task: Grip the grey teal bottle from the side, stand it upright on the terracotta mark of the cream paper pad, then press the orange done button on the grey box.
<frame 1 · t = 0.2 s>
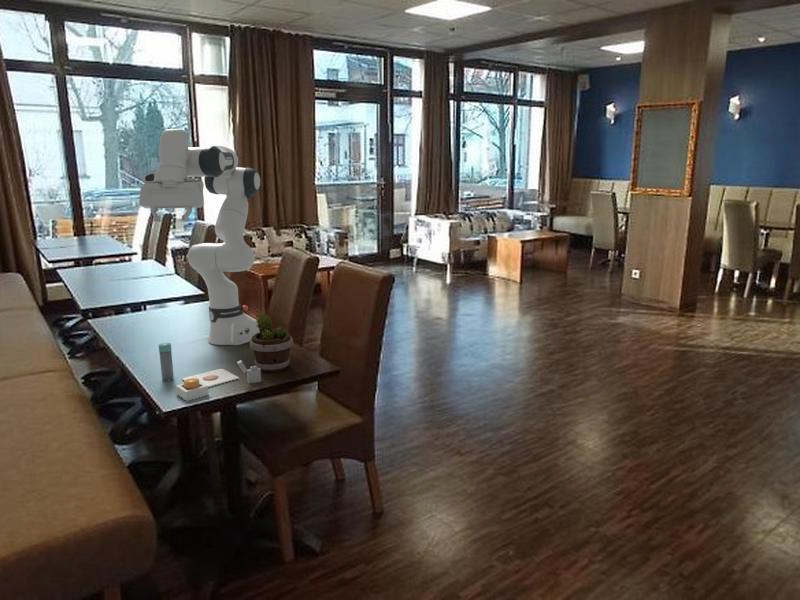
hand: (171, 221, 185), 51 cm above the table, tool tilted 15°, fingers open, 8 cm apart
button box: (192, 394, 179), on the table
flowerpot: (272, 368, 203), on the table
done button: (191, 383, 178), point 4 cm above the table, slide at 0.0 cm
paper pad: (210, 379, 191), on the table
lighter: (249, 383, 189), on the table
grey teal bottle: (167, 379, 192), on the table
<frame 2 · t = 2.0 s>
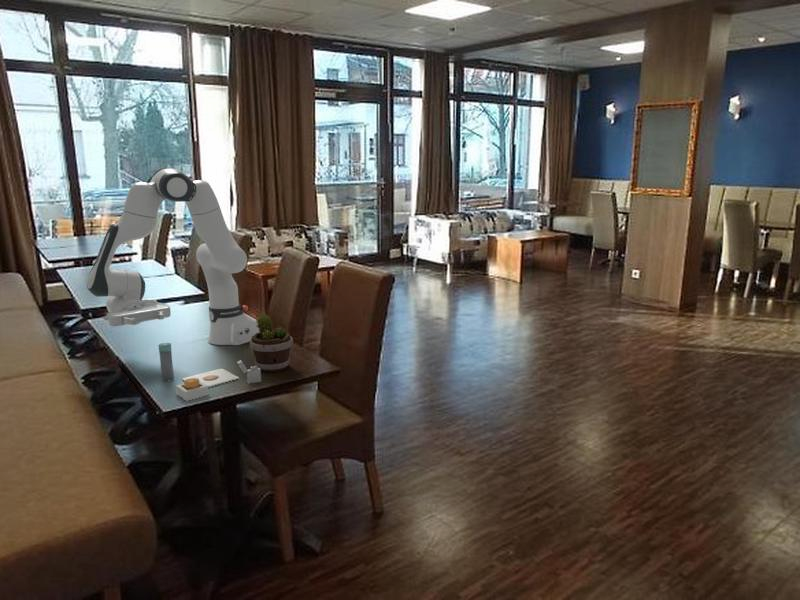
hand: (148, 319, 196), 18 cm above the table, tool horizontal, fingers open, 8 cm apart
nothing on the table moved.
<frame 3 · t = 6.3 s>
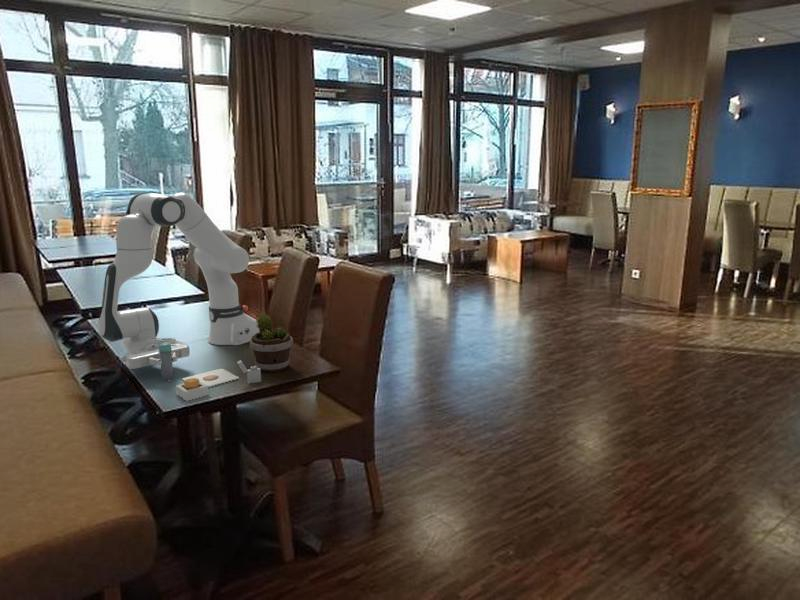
hand: (167, 361, 189), 7 cm above the table, tool horizontal, fingers closed on grey teal bottle, 4 cm apart
grey teal bottle: (167, 379, 192), on the table, touching gripper
everything else where it was.
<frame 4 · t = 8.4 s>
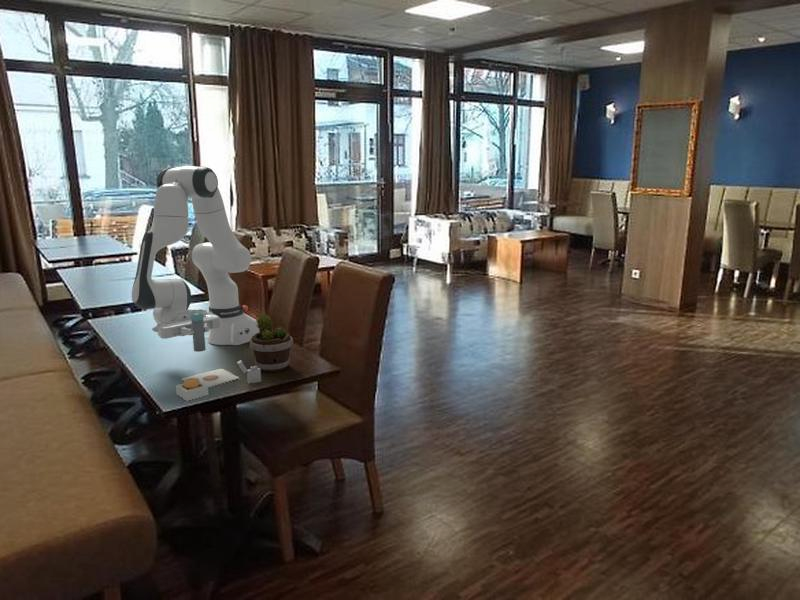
hand: (199, 331, 187), 17 cm above the table, tool horizontal, fingers closed on grey teal bottle, 4 cm apart
grey teal bottle: (199, 349, 189), point 10 cm above the table, touching gripper
everything else where it was.
when the fingers open (8 cm above the table, at t = 10.5 s): grey teal bottle drops 1 cm, resting on paper pad.
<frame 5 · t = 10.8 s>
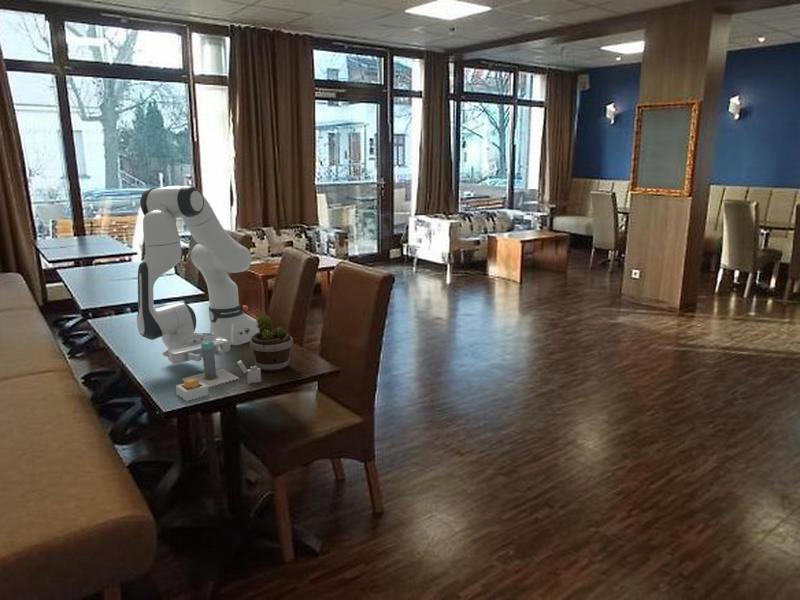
hand: (210, 355, 189), 8 cm above the table, tool horizontal, fingers open, 6 cm apart
grey teal bottle: (210, 377, 191), point 1 cm above the table, touching paper pad
everything else where it was.
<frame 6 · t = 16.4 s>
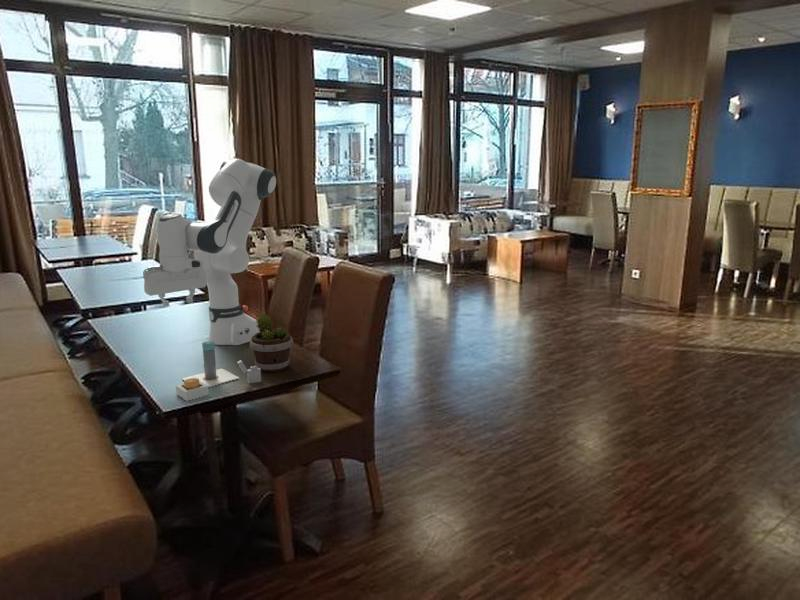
hand: (178, 304, 196), 23 cm above the table, tool pointing down, fingers open, 7 cm apart
nothing on the table moved.
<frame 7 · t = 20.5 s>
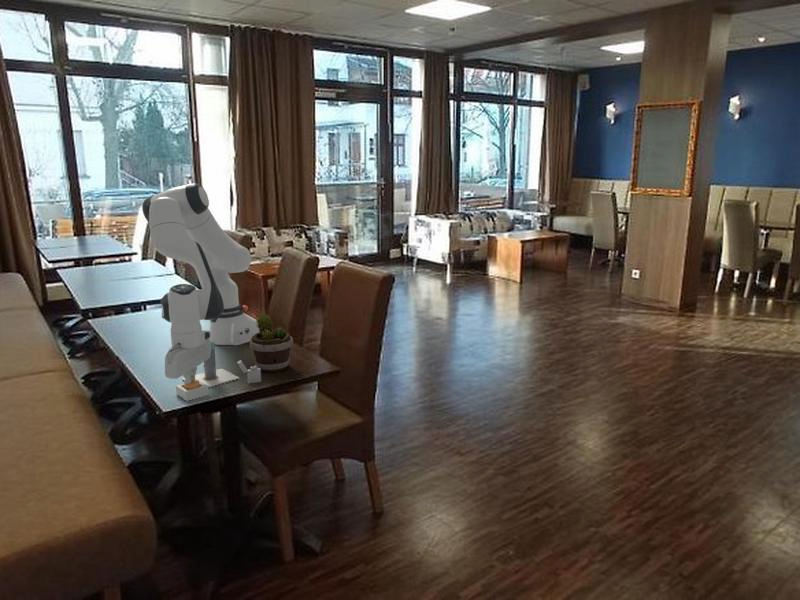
hand: (190, 382, 178), 4 cm above the table, tool pointing down, fingers closed
done button: (191, 385, 178), point 3 cm above the table, slide at 0.5 cm, touching gripper
everything else where it was.
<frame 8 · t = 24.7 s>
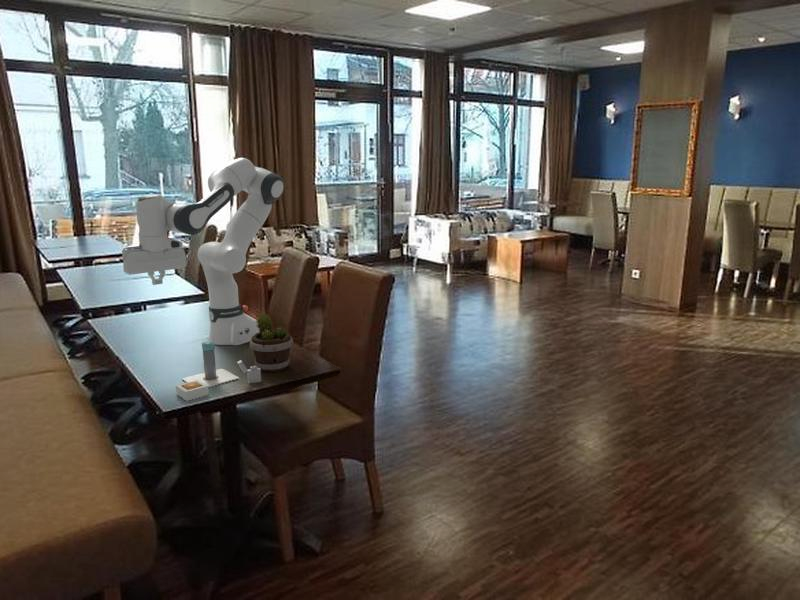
hand: (157, 284, 198), 29 cm above the table, tool pointing down, fingers closed
done button: (192, 387, 179), point 2 cm above the table, slide at 1.3 cm
everything else where it was.
at the end: grey teal bottle 0.0 cm from the target spot, point 0.7 cm above the table; grey teal bottle tilted 0°; done button slide at 1.3 cm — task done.
